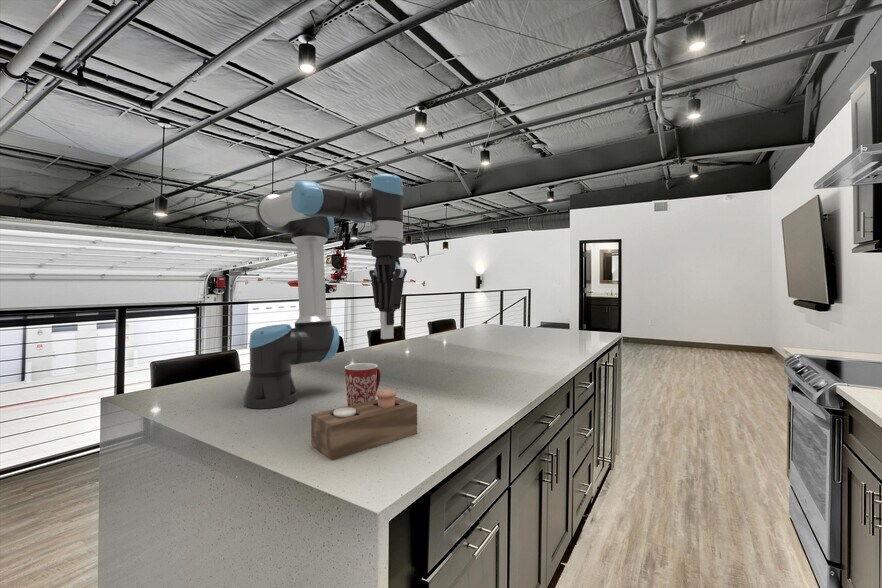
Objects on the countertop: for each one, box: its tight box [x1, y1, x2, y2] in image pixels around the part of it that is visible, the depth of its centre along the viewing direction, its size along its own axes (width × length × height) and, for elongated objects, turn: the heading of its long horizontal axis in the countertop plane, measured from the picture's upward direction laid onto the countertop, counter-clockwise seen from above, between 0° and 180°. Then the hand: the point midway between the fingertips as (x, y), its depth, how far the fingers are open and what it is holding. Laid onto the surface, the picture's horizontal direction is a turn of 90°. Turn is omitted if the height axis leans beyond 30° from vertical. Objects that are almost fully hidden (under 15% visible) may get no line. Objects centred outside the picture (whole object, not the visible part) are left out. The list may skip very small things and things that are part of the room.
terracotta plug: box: [376, 388, 397, 409], centre depth 94 cm, size 5×5×7 cm
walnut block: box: [310, 396, 418, 461], centre depth 90 cm, size 10×22×7 cm, turn 132°
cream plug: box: [334, 406, 356, 419], centre depth 86 cm, size 5×5×7 cm
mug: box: [344, 362, 381, 406], centre depth 109 cm, size 13×9×14 cm
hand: (387, 338), depth 95 cm, fingers closed
